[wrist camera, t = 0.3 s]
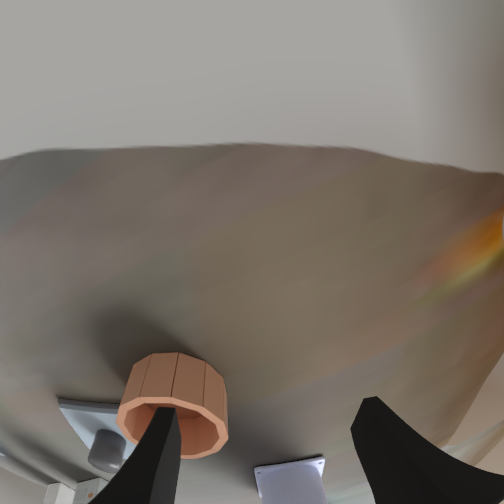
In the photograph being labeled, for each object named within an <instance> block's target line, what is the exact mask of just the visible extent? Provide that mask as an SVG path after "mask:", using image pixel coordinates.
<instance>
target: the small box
mask: <svg viewBox="0 0 504 504" xmlns="http://www.w3.org/2000/svg"><path fill="white" fill-rule="evenodd" d="M108 483H109V482H108V481H106V480H104V479H102V478H100V477H99V478H96V479H92V480H88V481H84V482H80V483H77V487H76V491H75V494H74V499H73V503H72V504H88V503H89V502H90V501H91V500H92V499H93V498H94V497H95V496H96V495H97V494H98V493H99V492H100V491H101V490H102V489H103V488H104V487H105V486H106V485H107V484H108Z"/></svg>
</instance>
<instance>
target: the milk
mask: <svg viewBox="0 0 504 504" xmlns="http://www.w3.org/2000/svg"><path fill="white" fill-rule="evenodd" d="M74 494H75V491H74V490H73V489H71V488H69V487H67V486H66V485H64V484H62V483H54V484H49V485H48V488H47V491H46V495H45V498H44V501H43V504H72V503H73V499H74Z"/></svg>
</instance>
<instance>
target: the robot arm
mask: <svg viewBox="0 0 504 504" xmlns="http://www.w3.org/2000/svg"><path fill="white" fill-rule="evenodd" d="M350 429H351V433H352V438H353V442H354V446H355V449H356V452H357V455H358V457H359V460H360V462H361V465H362V467H363V469H364V472H365V474H366V477H367V479H368V482H369V484H370V487H371V489H372V492H373V495H374V499H375V503H376V504H499V503H500V502H501V501H503V500H504V475H500V474H495V473H491V472H487V471H484V470H481V469H478V468H476V467H473V466H471V465H468V464H466V463H464V462H462V461H460V460H458V459H456V458H454V457H452V456H450V455H448V454H447V453H445V452H444V451H442V450H440V449H439V448H437V447H436V446H434V445H433V444H431V443H430V442H429V441H427V440H426V439H425V438H423V437H422V436H421V435H420V434H418V433H417V432H416V431H415V430H413V429H412V428H411V427H410V426H409V425H408V424H406V423H405V422H404V421H403V420H402V419H401V418H400V417H399V416H398V415H397V414H395V413H394V412H393V411H392V410H391V409H390V408H389V407H388V406H387V405H386V404H385V403H384V402H383V401H381V400H380V399H379V398H378V397H377V396H375V397H370V398H364V399H363V401H362V404H361V406H360V408H359V411H358V413H357V415H356V417H355V420H354V422H353V424H352V426H351V428H350ZM181 439H182V438H181V433H180V428H179V423H178V418H177V413H176V408H171V407H158V408H157V409H156V411H155V413H154V416H153V418H152V420H151V421H150V423H149V425H148V427H147V429H146V431H145V432H144V434H143V436H142V438H141V439H140V441H139V442H138V444H137V446H136V447H135V449H134V450H133V452H132V453H131V455H130V456H129V457H128V459H127V460H126V462H125V463H124V464H123V466H122V467H121V468H120V470H119V471H118V472H117V473H116V475H115V476H114V477H113V478H112V479H111V481H110V482H109V483H108V484H107V485H106V486H105V487H104V488H103V489H102V490H101V491H100V492H99V493H98V494H97V495H96V496H95V497H94V498H93V499H92V500H91V501H90V502H89V503H88V504H174V500H175V493H176V487H177V480H178V474H179V468H180V461H181ZM324 463H325V458H324V457H317V458H312V459H307V460H302V461H296V462H290V463H283V464H276V465H269V466H260V467H255V468H254V472H255V477H256V482H257V487H258V492H259V496H260V497H262V503H263V504H328V501H327V498H326V494H325V490H324V487H323V483H322V480H321V476H322V472H323V467H324Z"/></svg>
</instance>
